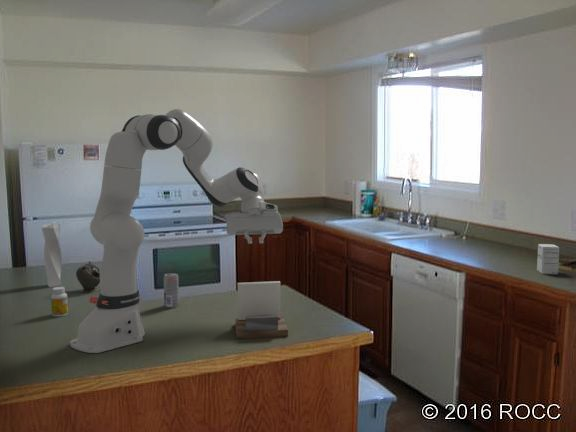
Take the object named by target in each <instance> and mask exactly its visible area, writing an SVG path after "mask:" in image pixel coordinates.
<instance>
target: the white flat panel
mask: <svg viewBox="0 0 576 432" xmlns="http://www.w3.org/2000/svg"><path fill="white" fill-rule="evenodd" d="M281 291H282V290H281V281H280V280H277V281H276V280H273V281H271V280H270V281H253V282H252V281H251V282H250V281H249V282H246V281H245V282H237V315H238V316H237V317H238V320H245V315H267V314H277V316H278V318H281V316H282V308H281V307H282V304H281V303H282V300H281V298H282V297H281V296H282V295H281V293H282V292H281Z"/></svg>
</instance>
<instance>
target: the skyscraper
mask: <svg viewBox="0 0 576 432" xmlns="http://www.w3.org/2000/svg"><path fill="white" fill-rule="evenodd" d="M55 224H58V226H57V225H55ZM60 231H61V224H60V223H59V222H58V221H52V222H51V224H44V225H42V226H41V232H42V235H43V239H44V246H43V247H44V248H43V251H44V252H43V256H44V257H43V258H44V268H45V273H46V278H47V283H46V285H47V286H48V287H49V288H55V287H63V283H62V280H61V278H62V277H61V276H62V265H63V263H62V261H63V259H62V258H63V256H62V250H61V245H60V242H59V239H60V238H59V237H60V233H61V232H60Z"/></svg>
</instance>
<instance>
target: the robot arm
mask: <svg viewBox="0 0 576 432" xmlns="http://www.w3.org/2000/svg"><path fill="white" fill-rule="evenodd" d="M174 146H175V147H176V148H177V149H179V150H180V151H181V153H182V155H183V156H182V162H183V165H184V166H185V169H186V170H187V172H188V174H190V175H191V177H192V178H193V179H194V181H195V182H196V184H198V186H199V187H200V188H201V189H202V191H203V192H204V194H205V196H206V198H207V199H208V201H209V202H210V204H212V205H214V206H216V207H220V208H223V207H225V206H227V205H228V204H230V203H231V202H232V201H234V200H236V199H238V198H240V200H241V203H240V207H241V208H240V210H241V211H229V212H227V213H225V215H224V220H225V222H226V234H227V235H229V236H240V235H244V238H245V239H246V240H247V244H248V245H249V244H253V236H250V235H261V236H258V243H259V244H264V239H265V238H266V236H267V235H269V234H270V235H273V234H274V235H275V234H282V232H283V231H284V224H283V219H282V216H281V214H280V212H279V208H278V205H276V204H273V203H269V202H268V203H267V202H266V201H265V199H264V198H265V190H264V186H263V181H262V178H261V177H260V176H259V175H258V174H257V173H255V172H252V171H251V170H249V169H247V168H245V167H241V166H239V167H237V168H235V169H232V170H231V171H229V172H227V173H226V174H224V175H222V176H220V177H218V178H213V177H211V175H210V174H209V173H208V172H207V170H206V169H205V168H204V166H203V164H204V162H206V160H207V159H208V158H209V156H210V154H211V152H212V149H213V146H214V145H213V138H212V135H211V133H210V132H209V131H208V130H207V129H206V128H205V127H204V126H203V125H202V124H201V123H200V122H199V121H198V120H197V119H196V118H194V117H193V116H192V115H191V114H189V113H187V112H186V111H184V110H183V109H180V108H174V109H172V110H169V111H168V112H167V113H166V114H151V113H149V114H142V115H135V116H132V117H130V118H129V119H127V121H126V122H125V124H124V125H123V128H122V130H121V131H117V132H115V133H113V134H112V135H111V136H110V139H109V141H108V143H107V148H106V151H105V159H104V164H103V173H102V174H103V175H102V181H101V190H100V195H99V199H98V202H97V205H96V209H95V213H94V216H93V218H92V219H91V221H90V223H89V224H90V225H89V231H90V234H91V235H92V237H93V238H94V239H95V241H96V242H97V243H99V244H101V245H103V254H102V261H101V264H100V266H99V271H100V283H99V288H100V289H99V290H100V293H99V295H98V297H96V296H93V295H91V296H89V299H88V302H89V303H90V304H94V305H95V306H96V307H94V308H93V310H92V311H91V312H90V313H89V314H88V315H87V316H86V317H85V318H84V319H83V320H82V321H81V322H80V323H79V326H78V328H77V329H78V331H77V337H76V338H74V339H72V340H70V341H69V346H70V347H71V348H73V349H74V350H77V351H79V352H83V353H89V354H99V353H103V352H107V351H110V350H115V349H118V348H121V347H125V346H129V345H133V344H136V343H140V342H143V341H144V338H143V337H144V336H145V334H146V331H145V330H144V326H143V323H142V318H141V312H140V305H139V304H140V301H141V300H140V291H139V289H138V271H137V270H138V262H139V261H138V259H139V254H140V247H141V245H142V243H143V242H144V240H145V228H144V227H143V225H142V223H140V222H139V220H138V219H136V218H135V217H134V216H132V215H131V213H132V210H133V207H134V205H135V202H136V200H137V198H138V197H139V195H140V185H141V179H142V178H141V176H142V168H143V167H142V166H143V164H142V163H143V158H144V155H145V153H146V152H147V150H148V151H158V150H159V151H162V150H163V151H164V150H168V149H170V148H172V147H174Z"/></svg>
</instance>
